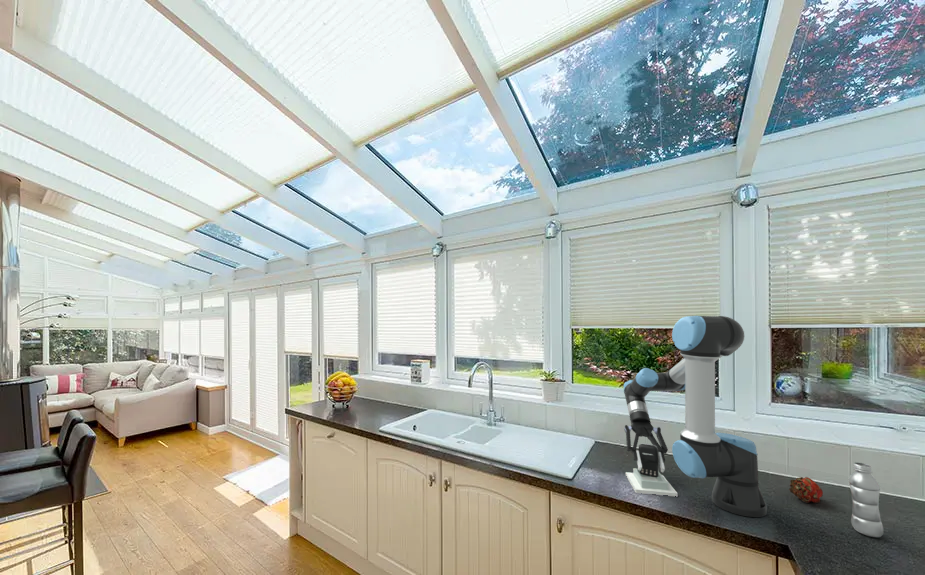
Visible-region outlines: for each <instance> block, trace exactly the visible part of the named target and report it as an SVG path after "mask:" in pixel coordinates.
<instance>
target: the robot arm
mask: <svg viewBox="0 0 925 575" xmlns="http://www.w3.org/2000/svg"><path fill="white" fill-rule="evenodd" d="M671 332H672V333H671V337H672V338H671V340H672V342H673V343H674V345H675V347H676V348H677V349H678V350H679V351H680V352H679V354H680V355H681V356H682V357H683V358H682V359H681V360H680V361H679V362H678V363H676V364H675V365H674V366H673V367H672V368H670V369H669V370H668V371H667V372H656V371H655V370H653V369H650V368H648V367H643V368H641V369H640V370H639V372H637V373H636V376H635V377H634V379H629V380H628V381H625V382H624V384H623V394H624V398H625V402H626V406H627V410H628V414H629V420H630V425H628V424H625V425H624V428H623V429H624V432H625V440H626V441H625V442H626V443H625V444H626V451H628V452H631V454H632V456H633V457H632V458H633V460H634V462H635V461H636V464H637V469H639V470H640V471H641V469H642V464H641V460H640V455H639V450H638V449H637V448H638V443H639V438H640V437H645V438H647V440H649V441H650V444H651V445H655V446H656V447H657V448H658V453H659V468H660V469H659V470H660V472H661V473H664V472H665V468H666V467H665V464H664V463H665V462H666V457H665V455H666V454H667V453H668V451H669V449H668V447H667V445H666V441H665V439H664V437H663V435H662V432H661V427H660V426H657V427H654V426H653V425H652V422H651V418H650V415H649V411H648V407H647V403H646V399H645V397H646V396H647V395H648V394H649V393H650V392H663V391H664V392H670V391H672V392H673V391H674V392H679V391H684V395H685V396H684V397H685V398H684V400H685V401H684V402H685V403H684V407H685V410H684V413H685V418H684V421H685V424H684V428H683V429H682V430H681V431H679V432H680V433H679V434H680V438H679V439H678V440H676V441H674V443H673V444H672V447H671V448H672V449H671V450H672V451H671V452H672V455H673V456H672V457H673V459H674V462H675V463H676V465H677V467H678V468H679V470H680V471H681V472H682V473H683V474H685V475H686V476H688V477H689V478H695V479H696V478H697V479H698V478H699V479H705V478H716V479H715V481H714V482H715V483H714V485H713V488H712V491H711V501H712V503H713V504H714V505H716V506H717V507H719V508H720V509H722V510H724V511H727V512H728V513H732V514H734V515H739V516H743V517H747V518H748V517H749V518H762V517H765V516H766V515H767V514H768V506H767V503H766V500H765V498H764V497H763V494H762V491H761V489H760V487H759V486H760V482H759V468H758V467H759V464H758V453H757V445H756V443H755V442H754V441H753V440H751V439H749V438H746V437H743V436H739V435H735V434H733V433H732V434H731V433H727V432H716V367H715V366H716V363H715V362H716V361H718V360H719V359H721V358H723V357H729V356H731V355H732V354H733V353H735V352H736V351H737V350H738V349H739V348H740V347H741V346H742V345H743V343H744V341H745V331H744V329H743V327H742V325H741V324H740V323H739V322H738V321H737V320H735V319H733V318H731V317H729V316H725V315H724V316H723V315H718V316H717V315H716V316H715V315H714V316H713V315H712V316H711V315H689V316H688V315H687V316H683V317H681V318H679V319H678V320H677V321H676V322H675V324H674V326H673V328H672V331H671ZM631 430H632V432H633V433H635V436H634V441H633V445H632V441H631ZM653 432H654V434H655V435H656V437H657V439H656V438H655V436H654V434H653Z"/></svg>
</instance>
